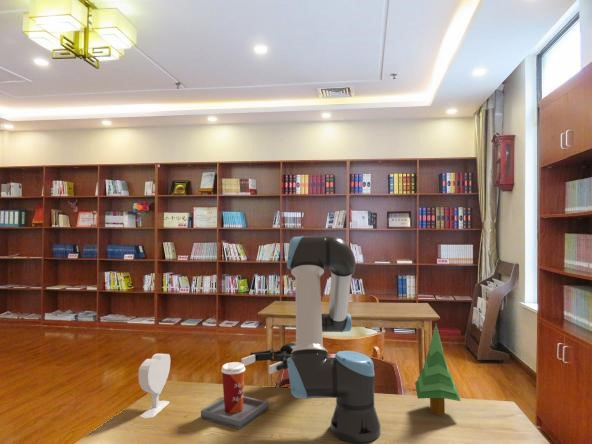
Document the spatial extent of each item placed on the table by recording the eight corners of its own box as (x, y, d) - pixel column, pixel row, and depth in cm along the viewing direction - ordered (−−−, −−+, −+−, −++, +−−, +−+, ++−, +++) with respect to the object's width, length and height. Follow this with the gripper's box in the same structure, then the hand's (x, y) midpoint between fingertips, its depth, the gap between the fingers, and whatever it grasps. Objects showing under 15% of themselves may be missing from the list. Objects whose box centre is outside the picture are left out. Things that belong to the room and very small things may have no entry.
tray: (267, 408, 140) (267, 401, 140) (240, 429, 126) (240, 421, 126) (231, 399, 148) (230, 392, 148) (200, 418, 133) (200, 410, 134)
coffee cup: (241, 416, 132) (240, 370, 132) (217, 414, 134) (217, 369, 134) (249, 405, 140) (248, 362, 141) (227, 403, 142) (226, 360, 142)
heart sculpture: (159, 398, 149) (159, 350, 149) (172, 399, 148) (172, 350, 148) (136, 418, 134) (136, 364, 134) (150, 419, 133) (150, 364, 133)
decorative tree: (419, 420, 130) (418, 327, 131) (414, 400, 146) (412, 316, 146) (463, 424, 128) (462, 329, 128) (453, 402, 143) (452, 318, 144)
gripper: (318, 368, 153) (281, 384, 137) (269, 356, 169) (231, 369, 152) (318, 348, 153) (281, 362, 137) (269, 338, 169) (231, 349, 153)
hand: (255, 366), depth 145 cm, fingers open, 13 cm apart
